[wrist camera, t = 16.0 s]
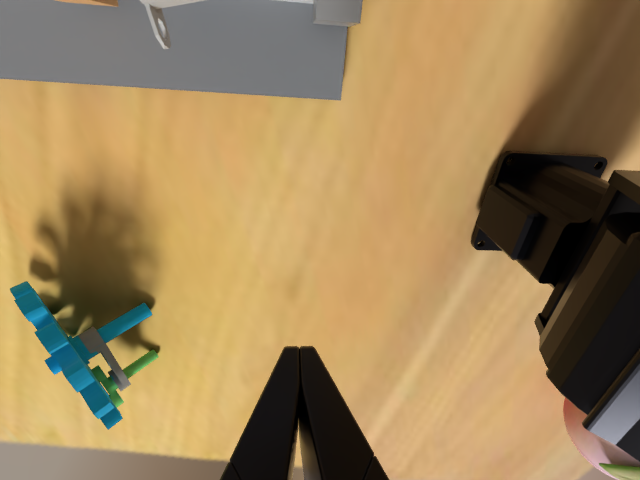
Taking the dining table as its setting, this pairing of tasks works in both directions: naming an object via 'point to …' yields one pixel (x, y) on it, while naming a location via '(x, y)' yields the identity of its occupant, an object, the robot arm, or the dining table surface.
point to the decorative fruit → (599, 447)
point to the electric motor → (162, 17)
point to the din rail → (182, 45)
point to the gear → (85, 353)
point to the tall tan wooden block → (94, 2)
